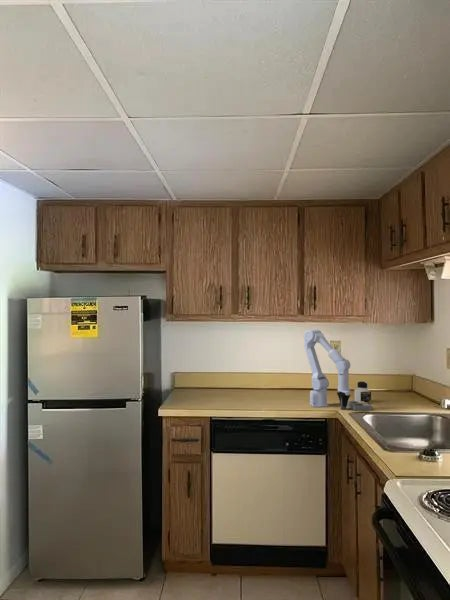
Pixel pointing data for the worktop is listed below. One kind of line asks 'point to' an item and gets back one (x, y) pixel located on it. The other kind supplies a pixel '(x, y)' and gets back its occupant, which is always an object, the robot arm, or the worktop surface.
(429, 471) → the worktop surface
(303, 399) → the worktop surface
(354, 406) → the socket block
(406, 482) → the worktop surface
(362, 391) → the medicine bottle
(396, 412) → the worktop surface
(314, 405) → the robot arm
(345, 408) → the plug
